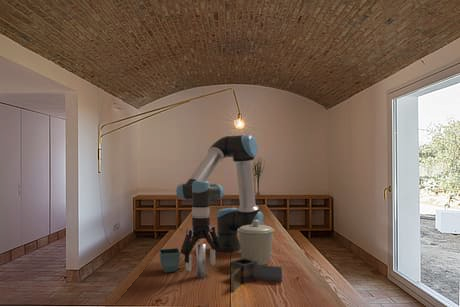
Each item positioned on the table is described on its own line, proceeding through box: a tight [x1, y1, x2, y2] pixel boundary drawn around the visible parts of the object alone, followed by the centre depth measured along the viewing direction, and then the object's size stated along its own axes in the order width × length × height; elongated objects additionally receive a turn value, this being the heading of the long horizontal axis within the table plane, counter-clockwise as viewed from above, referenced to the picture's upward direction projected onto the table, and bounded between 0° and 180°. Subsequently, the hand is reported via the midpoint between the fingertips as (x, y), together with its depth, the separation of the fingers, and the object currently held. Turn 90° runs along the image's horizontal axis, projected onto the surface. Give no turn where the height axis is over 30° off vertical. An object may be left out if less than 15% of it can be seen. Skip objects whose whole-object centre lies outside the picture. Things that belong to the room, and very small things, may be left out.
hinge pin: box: [195, 242, 207, 279], centre depth 149 cm, size 4×4×14 cm
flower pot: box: [158, 247, 181, 273], centre depth 158 cm, size 9×9×9 cm
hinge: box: [230, 257, 283, 292], centre depth 141 cm, size 22×18×7 cm
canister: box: [237, 220, 275, 266], centre depth 169 cm, size 18×18×21 cm
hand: (201, 267), depth 149 cm, fingers open, 12 cm apart
